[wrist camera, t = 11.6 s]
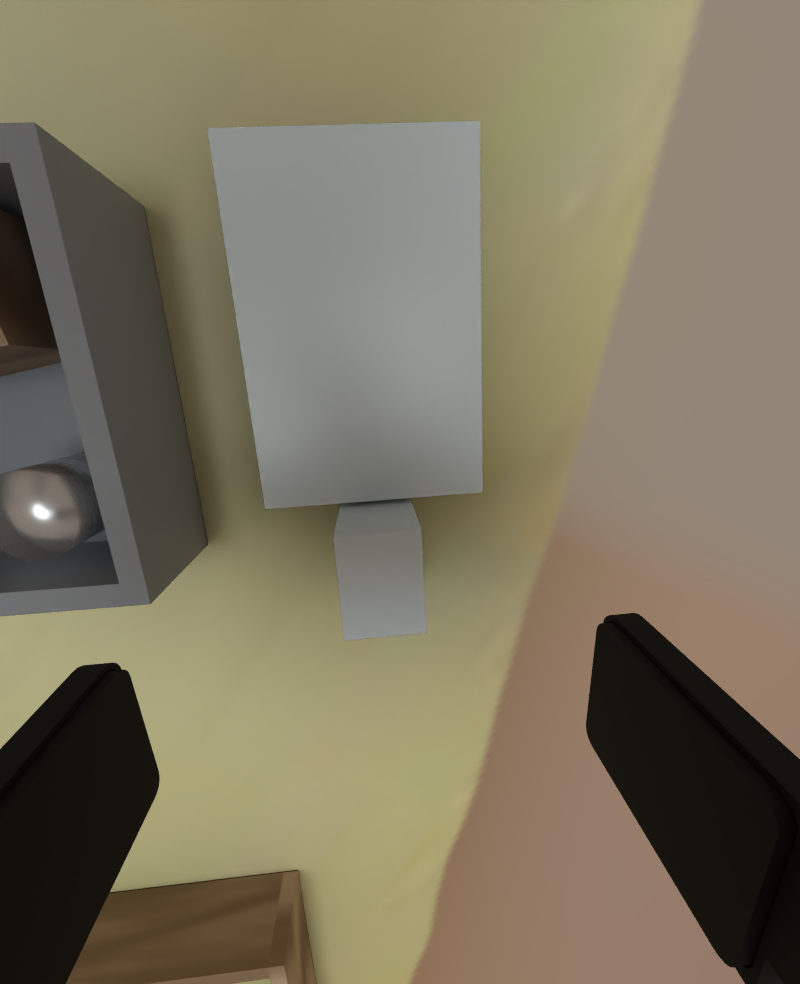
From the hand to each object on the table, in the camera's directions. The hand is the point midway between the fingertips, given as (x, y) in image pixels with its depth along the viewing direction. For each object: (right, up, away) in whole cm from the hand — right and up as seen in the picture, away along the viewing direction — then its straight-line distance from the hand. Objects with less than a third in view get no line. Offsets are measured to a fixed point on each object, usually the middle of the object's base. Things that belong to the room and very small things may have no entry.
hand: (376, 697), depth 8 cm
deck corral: (-11, -24, +17) cm, 31 cm away
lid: (-1, +8, +9) cm, 12 cm away
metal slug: (-12, +4, +8) cm, 15 cm away
